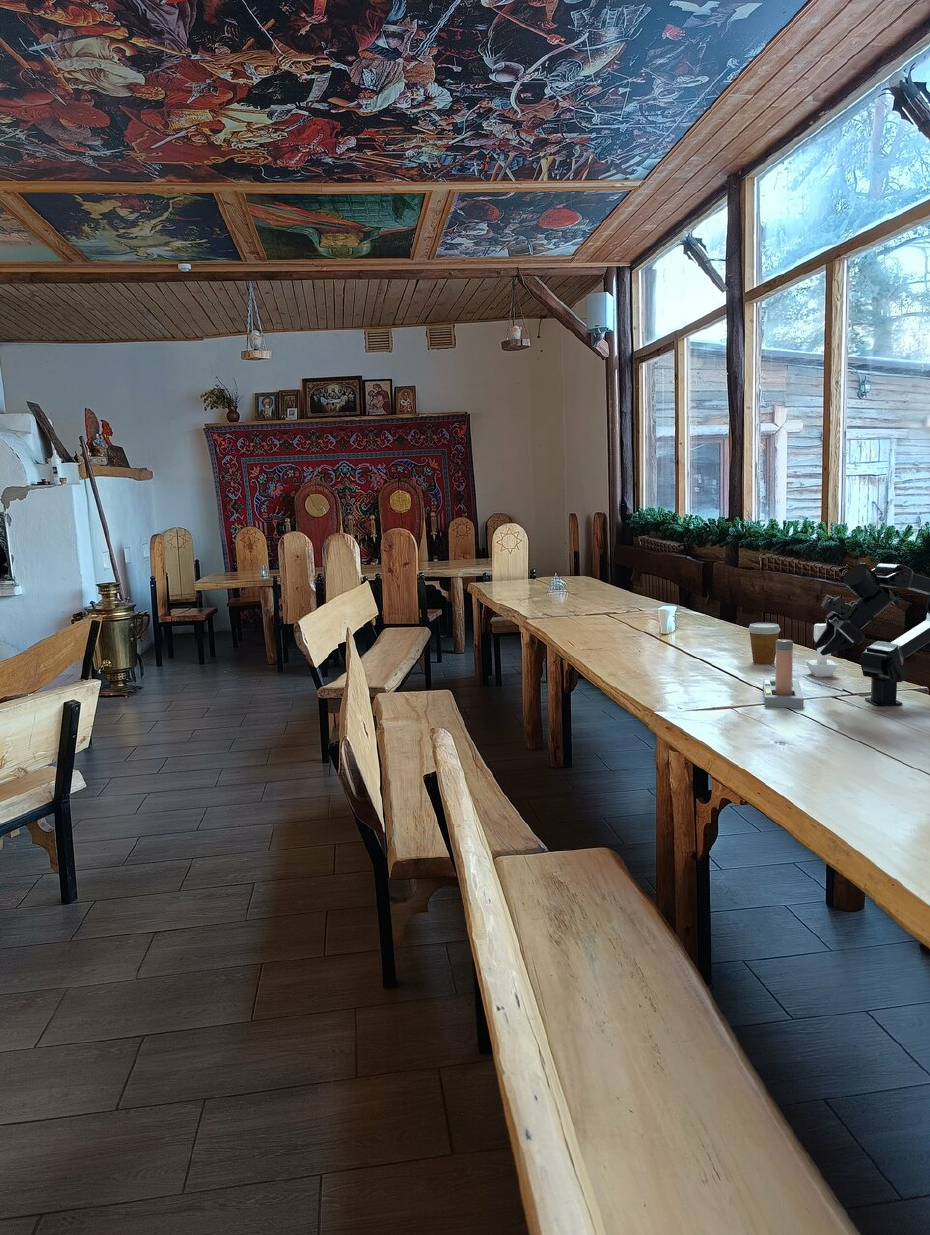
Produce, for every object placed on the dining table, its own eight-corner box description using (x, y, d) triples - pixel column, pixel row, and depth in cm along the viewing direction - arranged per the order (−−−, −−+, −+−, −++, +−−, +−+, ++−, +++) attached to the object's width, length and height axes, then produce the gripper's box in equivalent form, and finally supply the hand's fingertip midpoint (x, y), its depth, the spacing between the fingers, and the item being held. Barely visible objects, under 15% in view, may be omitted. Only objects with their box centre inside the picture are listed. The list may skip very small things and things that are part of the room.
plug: (794, 704, 203) (795, 642, 201) (778, 704, 203) (779, 642, 201) (788, 700, 207) (789, 639, 205) (772, 700, 207) (773, 639, 205)
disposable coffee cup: (741, 661, 255) (741, 624, 253) (766, 658, 257) (767, 621, 256) (760, 667, 246) (761, 628, 244) (786, 663, 248) (787, 625, 247)
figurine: (813, 678, 228) (814, 626, 226) (803, 671, 238) (804, 621, 235) (840, 678, 227) (841, 626, 225) (828, 671, 237) (830, 620, 234)
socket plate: (803, 708, 199) (803, 696, 198) (764, 706, 202) (765, 695, 201) (798, 689, 218) (798, 678, 217) (763, 687, 221) (763, 677, 220)
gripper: (836, 579, 206) (789, 622, 210) (850, 588, 188) (799, 634, 193) (868, 610, 205) (821, 651, 210) (886, 621, 187) (834, 667, 192)
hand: (818, 650), depth 201 cm, fingers open, 9 cm apart
